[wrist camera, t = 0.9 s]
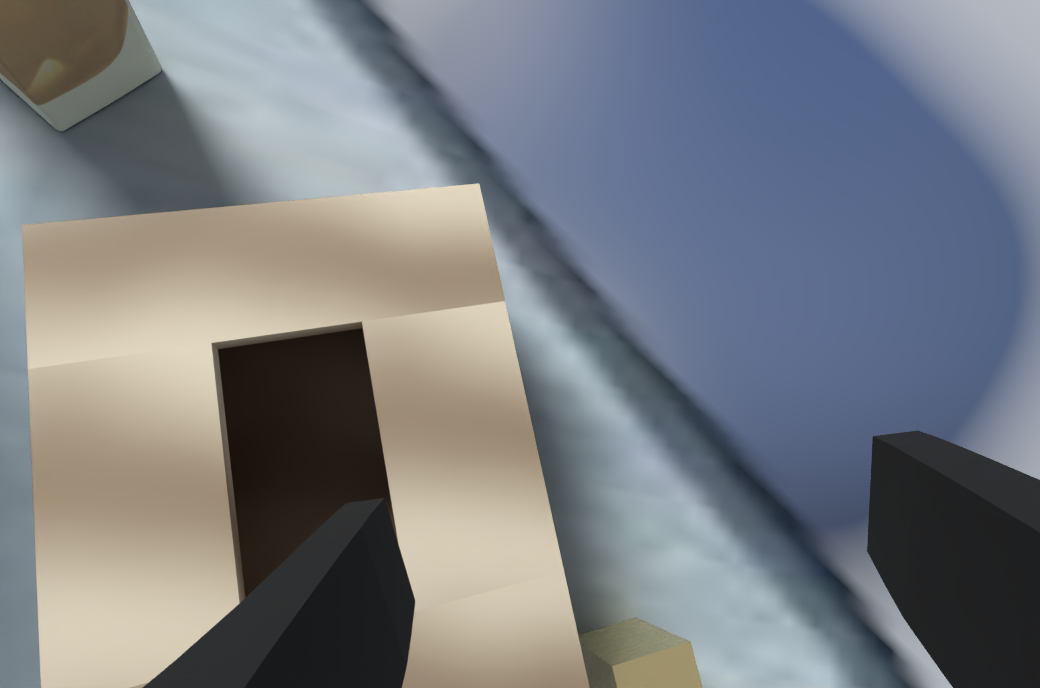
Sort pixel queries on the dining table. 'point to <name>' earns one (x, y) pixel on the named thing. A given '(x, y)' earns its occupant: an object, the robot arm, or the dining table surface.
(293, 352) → the box
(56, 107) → the skincare box
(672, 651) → the tan wooden block
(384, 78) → the dining table surface
